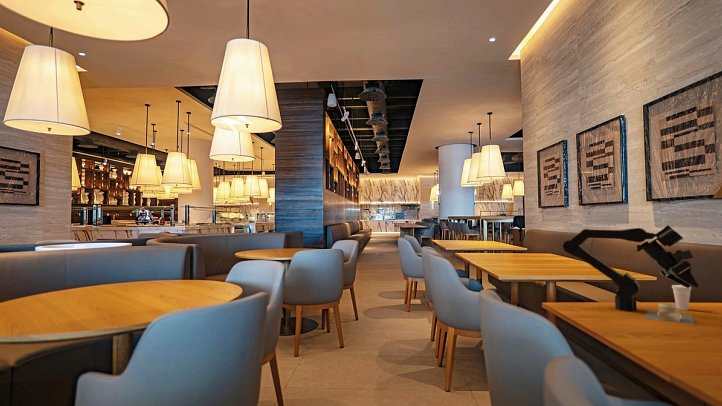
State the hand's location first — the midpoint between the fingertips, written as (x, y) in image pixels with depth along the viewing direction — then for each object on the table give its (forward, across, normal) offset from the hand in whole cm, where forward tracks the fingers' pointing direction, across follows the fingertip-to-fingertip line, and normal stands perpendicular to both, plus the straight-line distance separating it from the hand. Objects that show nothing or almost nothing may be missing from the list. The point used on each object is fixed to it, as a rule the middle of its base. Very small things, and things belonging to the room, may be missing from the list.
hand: (693, 287), depth 141 cm
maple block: (+4, -4, +15) cm, 16 cm away
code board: (+5, 0, +14) cm, 15 cm away
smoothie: (+8, +21, +4) cm, 23 cm away
